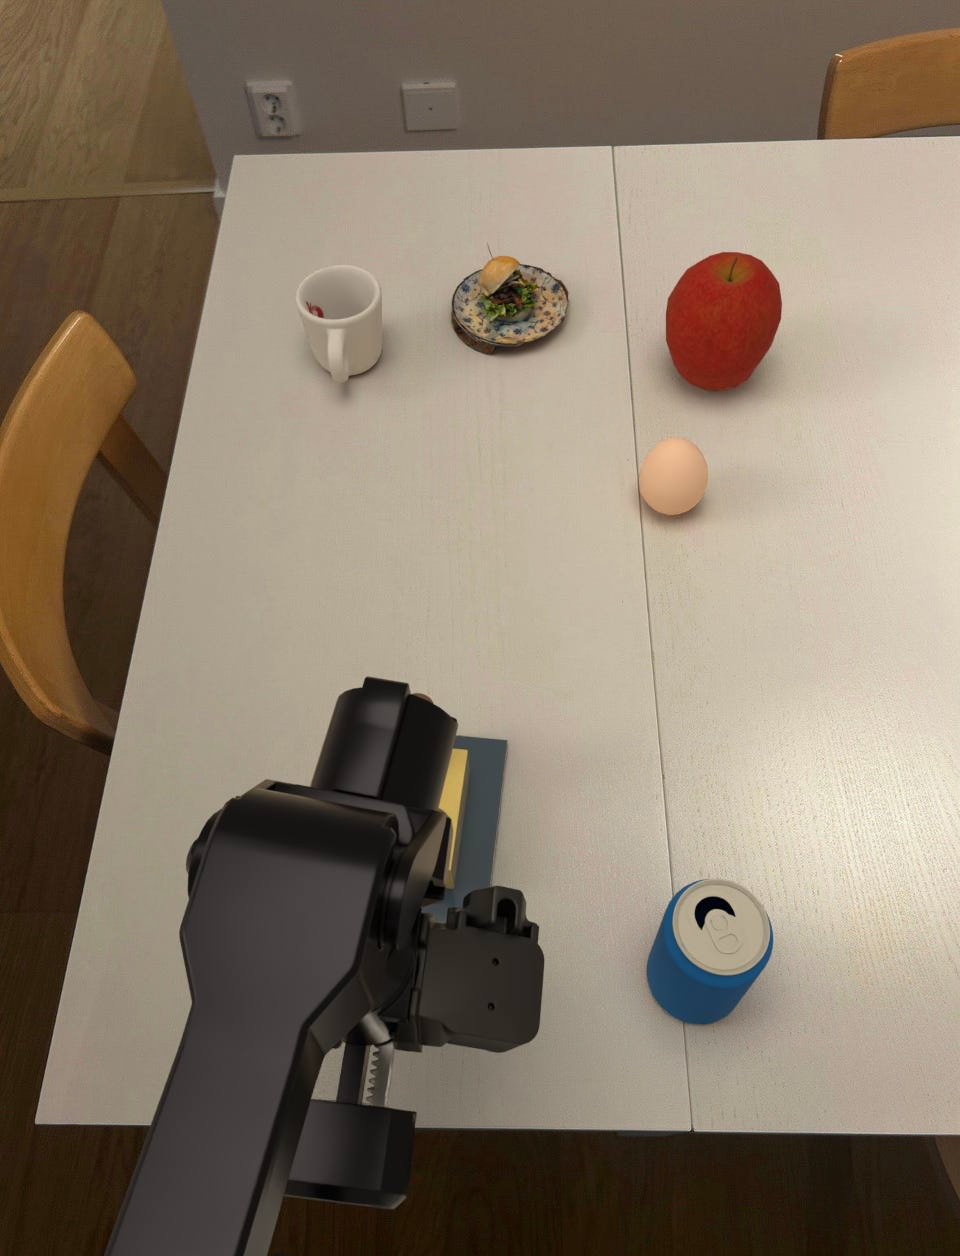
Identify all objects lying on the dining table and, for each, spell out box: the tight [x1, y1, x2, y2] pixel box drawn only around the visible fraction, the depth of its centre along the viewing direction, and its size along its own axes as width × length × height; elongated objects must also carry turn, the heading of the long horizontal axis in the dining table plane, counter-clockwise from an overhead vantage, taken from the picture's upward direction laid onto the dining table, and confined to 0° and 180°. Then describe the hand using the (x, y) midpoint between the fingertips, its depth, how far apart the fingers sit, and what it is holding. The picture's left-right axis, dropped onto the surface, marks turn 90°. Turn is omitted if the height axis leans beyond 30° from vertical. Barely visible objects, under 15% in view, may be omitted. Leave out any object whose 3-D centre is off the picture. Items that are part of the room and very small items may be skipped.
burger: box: [450, 243, 570, 355], centre depth 104 cm, size 12×12×8 cm
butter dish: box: [422, 734, 509, 923], centre depth 76 cm, size 16×11×5 cm
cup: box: [295, 264, 383, 383], centre depth 100 cm, size 11×8×8 cm
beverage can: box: [646, 878, 774, 1025], centre depth 67 cm, size 6×6×12 cm
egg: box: [638, 436, 709, 516], centre depth 90 cm, size 6×6×8 cm
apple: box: [665, 251, 783, 392], centre depth 96 cm, size 10×10×14 cm
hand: (387, 1021), depth 59 cm, fingers open, 9 cm apart
